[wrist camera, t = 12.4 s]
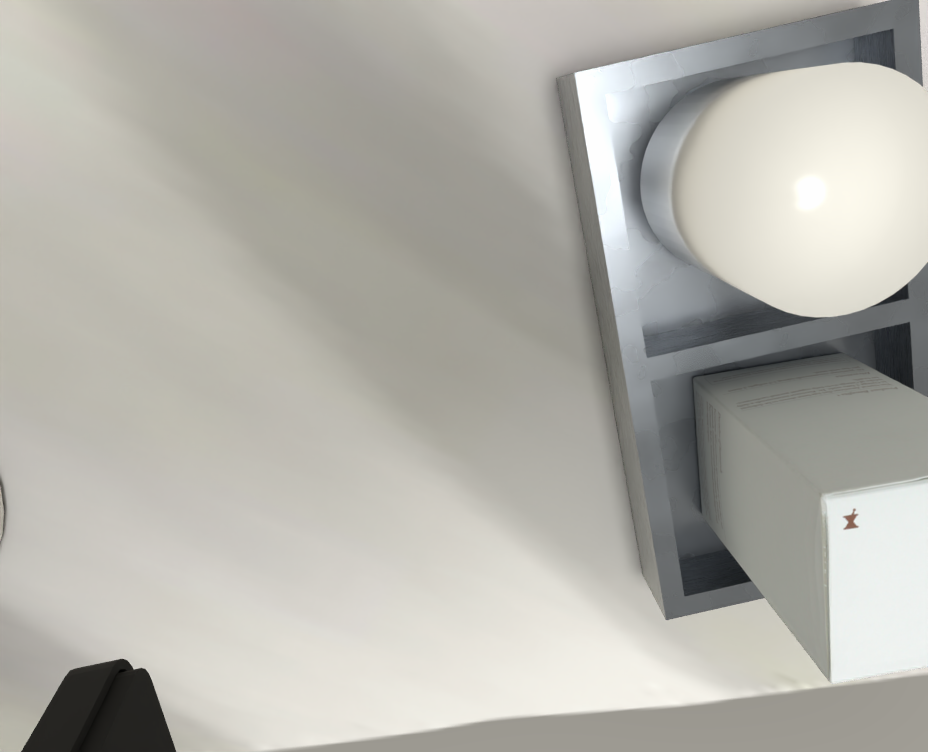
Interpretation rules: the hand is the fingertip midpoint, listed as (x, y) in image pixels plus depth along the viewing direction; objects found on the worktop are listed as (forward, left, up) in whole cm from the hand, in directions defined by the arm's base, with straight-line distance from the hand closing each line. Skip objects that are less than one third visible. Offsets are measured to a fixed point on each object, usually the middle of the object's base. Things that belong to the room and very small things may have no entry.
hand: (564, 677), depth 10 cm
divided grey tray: (+12, -5, -28) cm, 31 cm away
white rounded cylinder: (+12, +1, -27) cm, 30 cm away
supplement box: (+13, -11, -28) cm, 32 cm away
